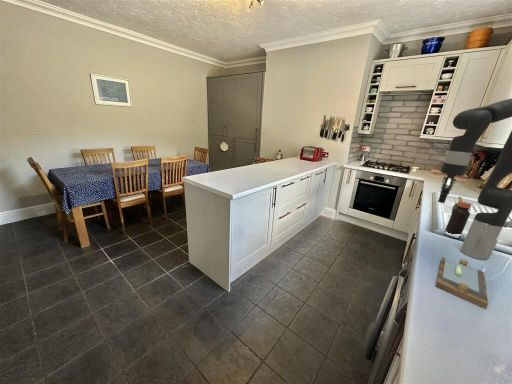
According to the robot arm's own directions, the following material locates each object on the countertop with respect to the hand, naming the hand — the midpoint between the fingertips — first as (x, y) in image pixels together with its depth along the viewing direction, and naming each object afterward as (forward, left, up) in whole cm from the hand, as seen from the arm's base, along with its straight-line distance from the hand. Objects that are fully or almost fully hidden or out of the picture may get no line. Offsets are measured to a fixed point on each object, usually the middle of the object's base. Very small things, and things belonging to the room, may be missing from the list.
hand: (441, 202), depth 90 cm
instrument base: (0, +19, -26) cm, 32 cm away
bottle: (-32, -19, -26) cm, 46 cm away
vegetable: (-40, -29, -26) cm, 56 cm away
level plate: (0, +19, -24) cm, 30 cm away
